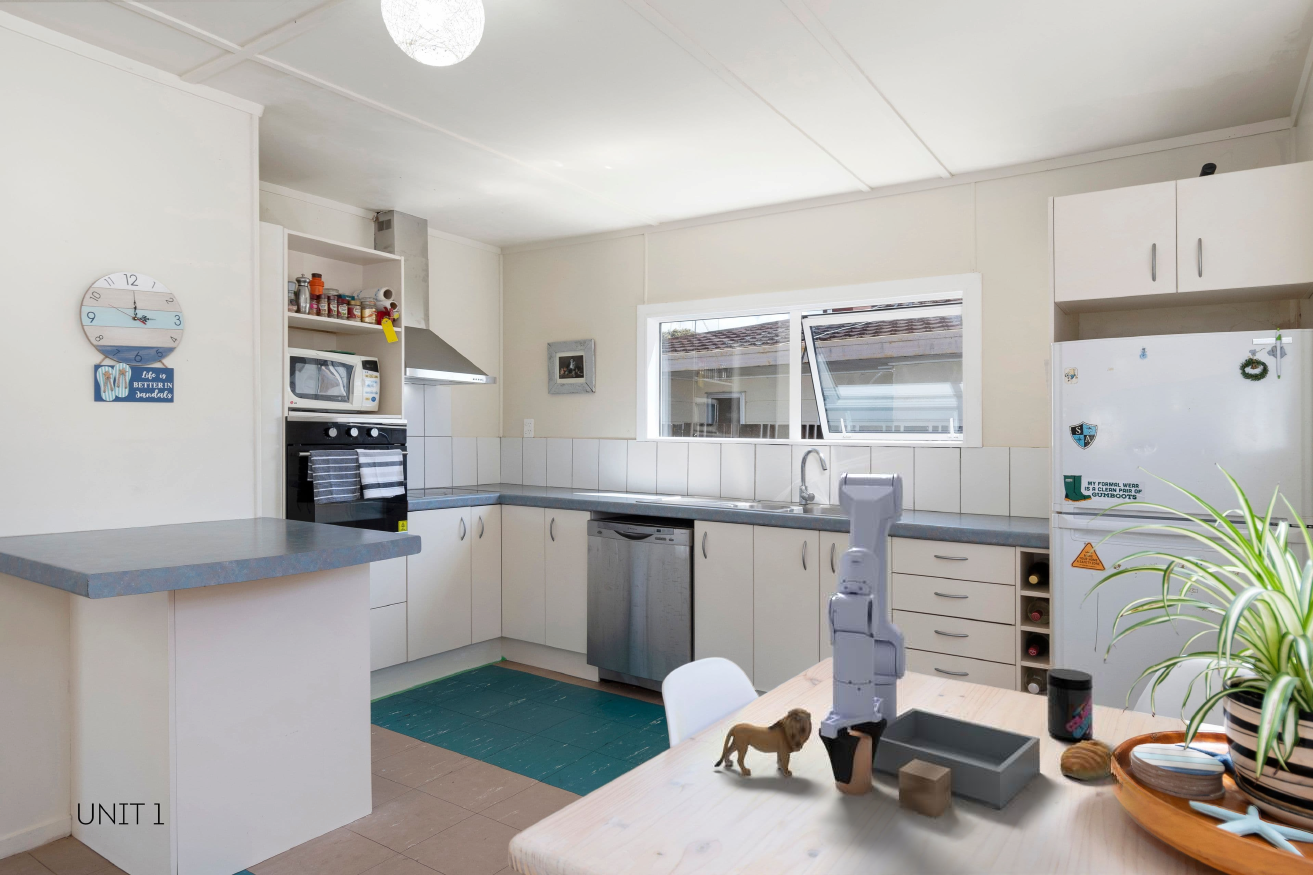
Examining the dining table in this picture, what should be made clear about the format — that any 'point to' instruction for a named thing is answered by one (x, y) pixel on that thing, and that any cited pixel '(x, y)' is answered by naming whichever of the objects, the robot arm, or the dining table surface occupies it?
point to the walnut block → (925, 788)
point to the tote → (961, 754)
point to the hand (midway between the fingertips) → (853, 774)
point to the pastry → (1087, 760)
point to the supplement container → (1070, 705)
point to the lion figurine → (769, 739)
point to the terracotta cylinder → (860, 767)
